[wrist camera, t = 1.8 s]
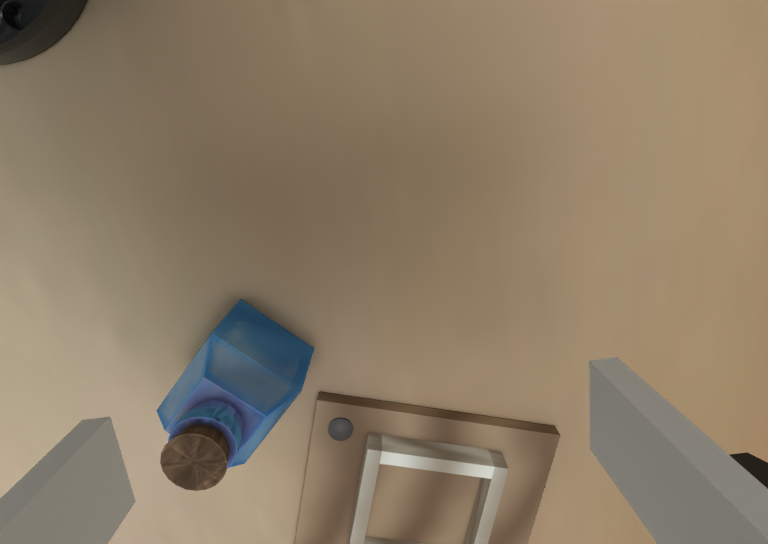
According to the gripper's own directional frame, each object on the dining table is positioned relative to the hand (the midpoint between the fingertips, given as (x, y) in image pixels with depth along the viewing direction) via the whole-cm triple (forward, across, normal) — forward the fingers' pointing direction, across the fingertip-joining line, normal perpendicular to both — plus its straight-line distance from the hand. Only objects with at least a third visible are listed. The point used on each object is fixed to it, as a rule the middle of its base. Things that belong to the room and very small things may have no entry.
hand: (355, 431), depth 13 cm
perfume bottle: (+21, -9, -6) cm, 23 cm away
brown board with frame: (+20, +2, -19) cm, 28 cm away
